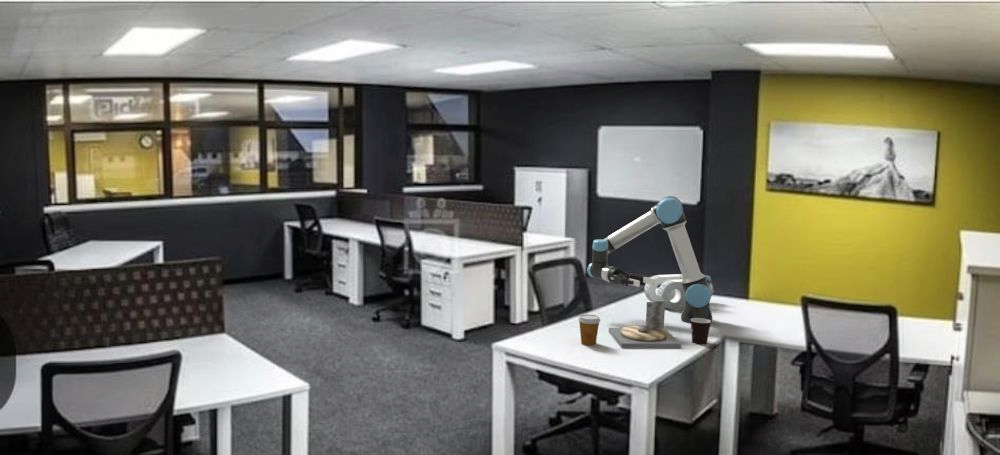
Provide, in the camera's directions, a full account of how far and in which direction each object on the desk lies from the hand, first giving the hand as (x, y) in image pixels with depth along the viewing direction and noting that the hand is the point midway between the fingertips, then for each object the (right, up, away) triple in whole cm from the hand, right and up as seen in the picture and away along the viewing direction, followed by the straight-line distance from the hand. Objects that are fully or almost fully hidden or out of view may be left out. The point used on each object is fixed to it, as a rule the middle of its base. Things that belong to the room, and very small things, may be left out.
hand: (646, 282), depth 327 cm
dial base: (-3, -25, -6) cm, 26 cm away
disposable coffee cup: (-28, -26, -14) cm, 41 cm away
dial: (-2, -23, -6) cm, 23 cm away
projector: (+32, -17, +65) cm, 74 cm away
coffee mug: (+22, -26, -8) cm, 35 cm away
